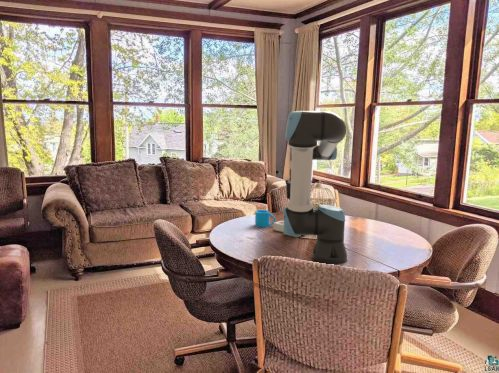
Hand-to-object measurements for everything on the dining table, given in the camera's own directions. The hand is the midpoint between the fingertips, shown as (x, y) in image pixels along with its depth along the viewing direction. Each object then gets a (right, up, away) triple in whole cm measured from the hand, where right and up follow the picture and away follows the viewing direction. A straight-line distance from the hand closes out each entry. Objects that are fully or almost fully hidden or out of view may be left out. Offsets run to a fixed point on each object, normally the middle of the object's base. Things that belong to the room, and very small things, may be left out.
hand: (295, 212), depth 218 cm
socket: (0, -12, +2) cm, 12 cm away
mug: (-15, -9, +19) cm, 26 cm away
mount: (-6, -10, +10) cm, 15 cm away
